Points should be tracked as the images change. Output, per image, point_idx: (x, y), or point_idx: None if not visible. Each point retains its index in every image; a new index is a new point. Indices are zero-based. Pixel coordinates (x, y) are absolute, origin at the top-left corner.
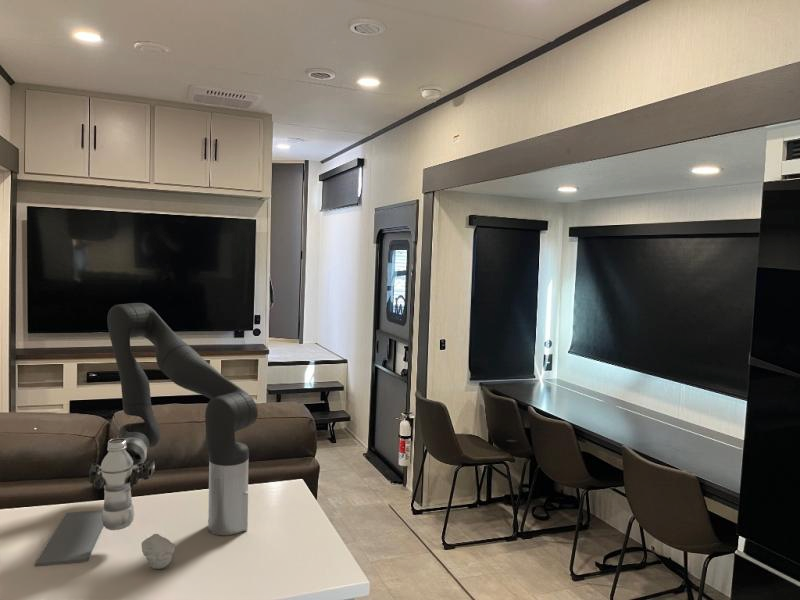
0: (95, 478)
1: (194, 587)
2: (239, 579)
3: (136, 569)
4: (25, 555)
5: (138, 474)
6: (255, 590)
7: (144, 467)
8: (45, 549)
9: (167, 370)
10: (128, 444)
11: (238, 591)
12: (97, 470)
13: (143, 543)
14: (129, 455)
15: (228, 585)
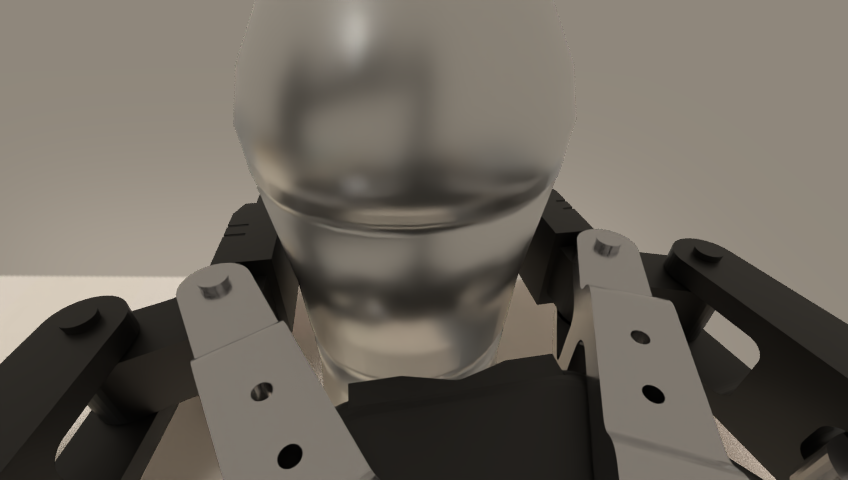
0: (573, 209)
1: (170, 293)
2: (40, 318)
3: (315, 361)
4: (739, 445)
5: (216, 260)
6: (33, 284)
7: (89, 353)
8: None
9: None
10: None
11: (75, 281)
12: (828, 443)
13: None
14: (253, 6)
15: (84, 299)
